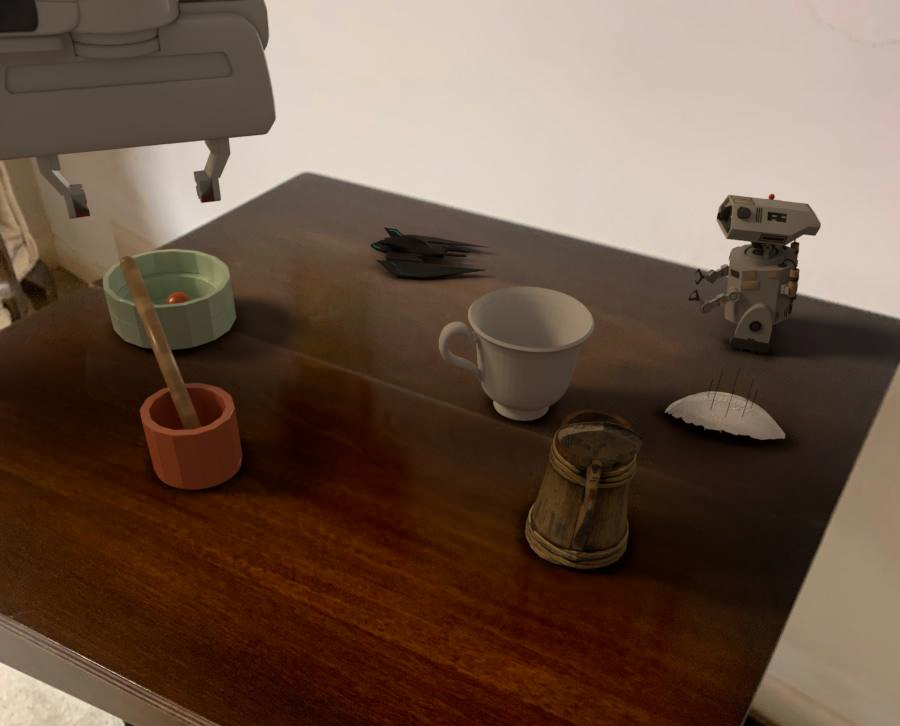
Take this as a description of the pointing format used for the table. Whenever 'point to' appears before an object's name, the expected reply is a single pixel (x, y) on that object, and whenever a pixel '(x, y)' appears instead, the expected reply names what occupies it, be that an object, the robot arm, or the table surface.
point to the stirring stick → (159, 343)
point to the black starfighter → (418, 255)
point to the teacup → (522, 347)
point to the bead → (178, 298)
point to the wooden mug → (585, 492)
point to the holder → (193, 438)
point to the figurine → (759, 265)
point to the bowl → (162, 278)
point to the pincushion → (726, 414)
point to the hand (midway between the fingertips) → (145, 206)
